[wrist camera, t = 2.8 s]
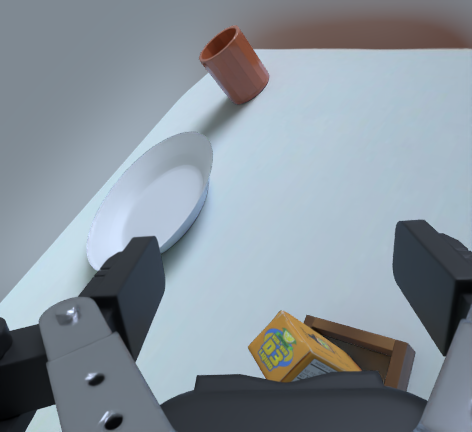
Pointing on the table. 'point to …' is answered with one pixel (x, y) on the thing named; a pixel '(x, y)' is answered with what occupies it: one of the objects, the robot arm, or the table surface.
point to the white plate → (154, 197)
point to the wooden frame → (371, 348)
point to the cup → (234, 65)
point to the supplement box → (296, 351)
